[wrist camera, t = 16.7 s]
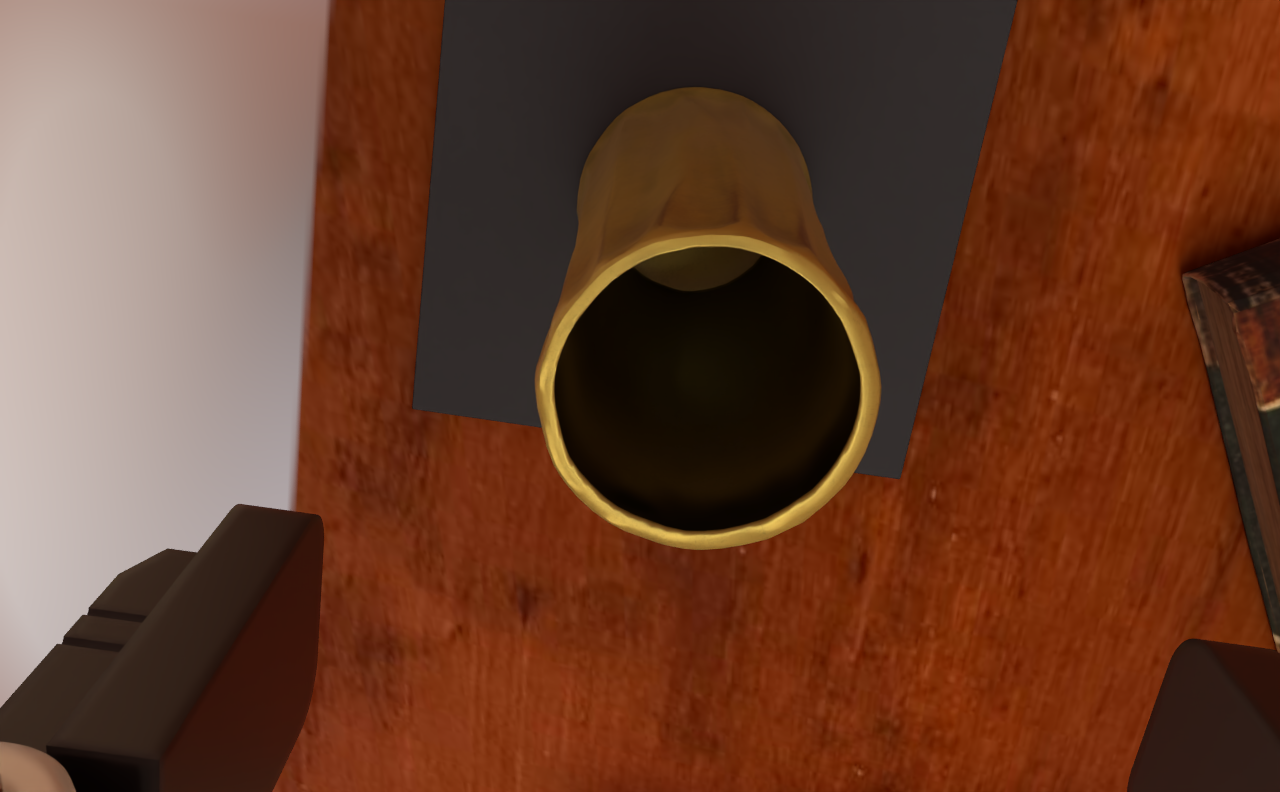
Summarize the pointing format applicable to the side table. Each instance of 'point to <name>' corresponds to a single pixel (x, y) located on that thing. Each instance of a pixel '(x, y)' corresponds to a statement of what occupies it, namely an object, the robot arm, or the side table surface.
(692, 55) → the mat
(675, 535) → the vase
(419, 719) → the side table surface
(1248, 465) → the book
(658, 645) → the side table surface
